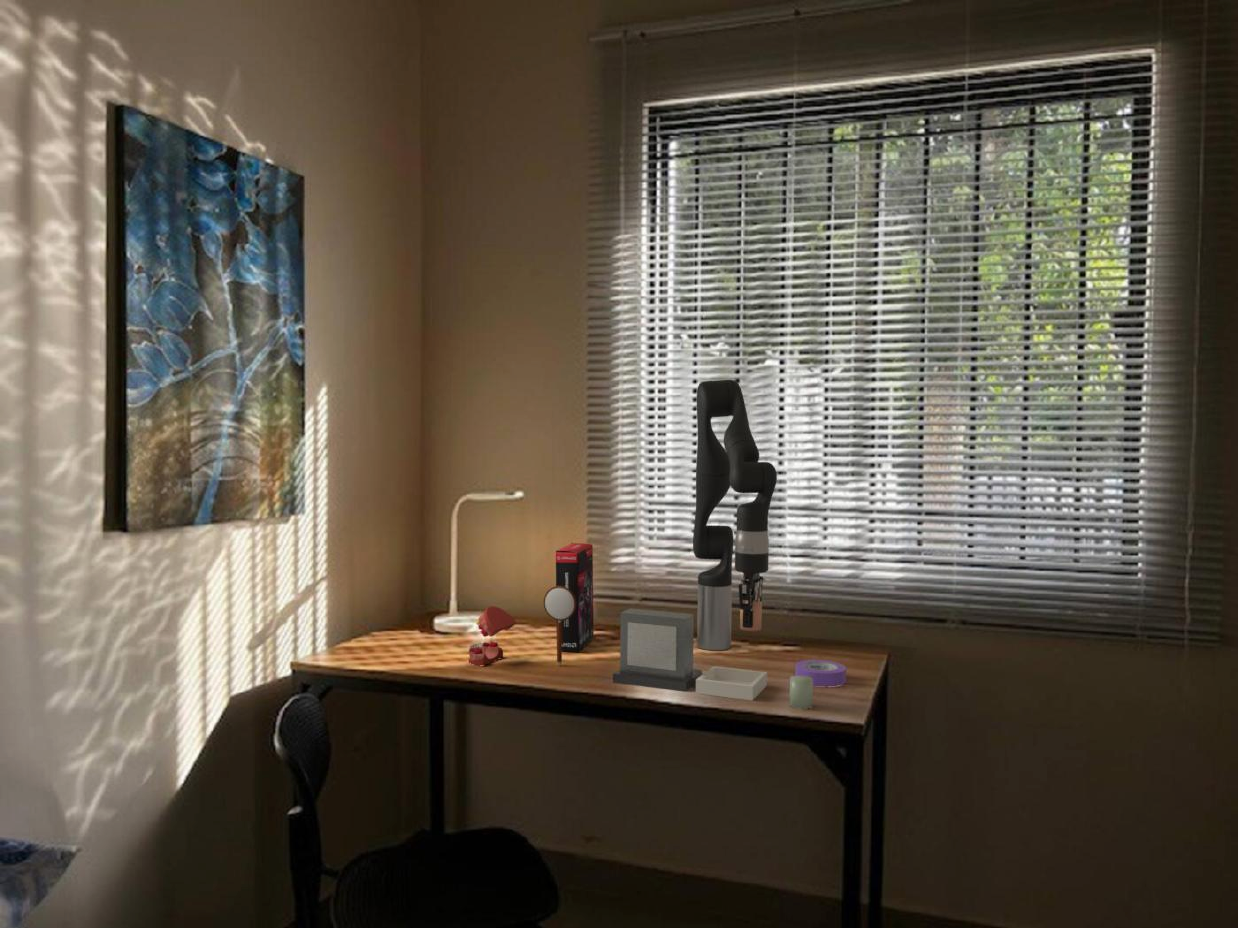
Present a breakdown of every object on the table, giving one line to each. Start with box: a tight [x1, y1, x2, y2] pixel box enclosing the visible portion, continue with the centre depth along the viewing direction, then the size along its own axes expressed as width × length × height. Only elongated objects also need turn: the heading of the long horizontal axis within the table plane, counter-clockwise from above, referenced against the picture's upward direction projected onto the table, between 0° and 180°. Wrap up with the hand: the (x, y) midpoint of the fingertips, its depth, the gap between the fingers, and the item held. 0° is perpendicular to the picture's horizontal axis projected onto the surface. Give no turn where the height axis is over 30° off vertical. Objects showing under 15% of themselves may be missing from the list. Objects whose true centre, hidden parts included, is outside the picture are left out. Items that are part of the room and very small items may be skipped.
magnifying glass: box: [543, 585, 576, 667], centre depth 224 cm, size 9×2×20 cm, turn 71°
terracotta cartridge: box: [739, 601, 763, 632], centre depth 204 cm, size 5×5×6 cm
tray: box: [695, 665, 768, 701], centre depth 205 cm, size 13×13×3 cm
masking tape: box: [794, 659, 847, 687], centre depth 213 cm, size 12×12×4 cm
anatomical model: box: [467, 605, 517, 666], centre depth 228 cm, size 10×8×15 cm
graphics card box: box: [555, 542, 595, 653], centre depth 246 cm, size 17×7×27 cm, turn 168°
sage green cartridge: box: [789, 675, 814, 709], centre depth 193 cm, size 5×5×6 cm
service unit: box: [612, 607, 703, 692], centre depth 212 cm, size 12×18×16 cm, turn 67°
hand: (750, 624), depth 204 cm, fingers closed on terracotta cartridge, 4 cm apart
